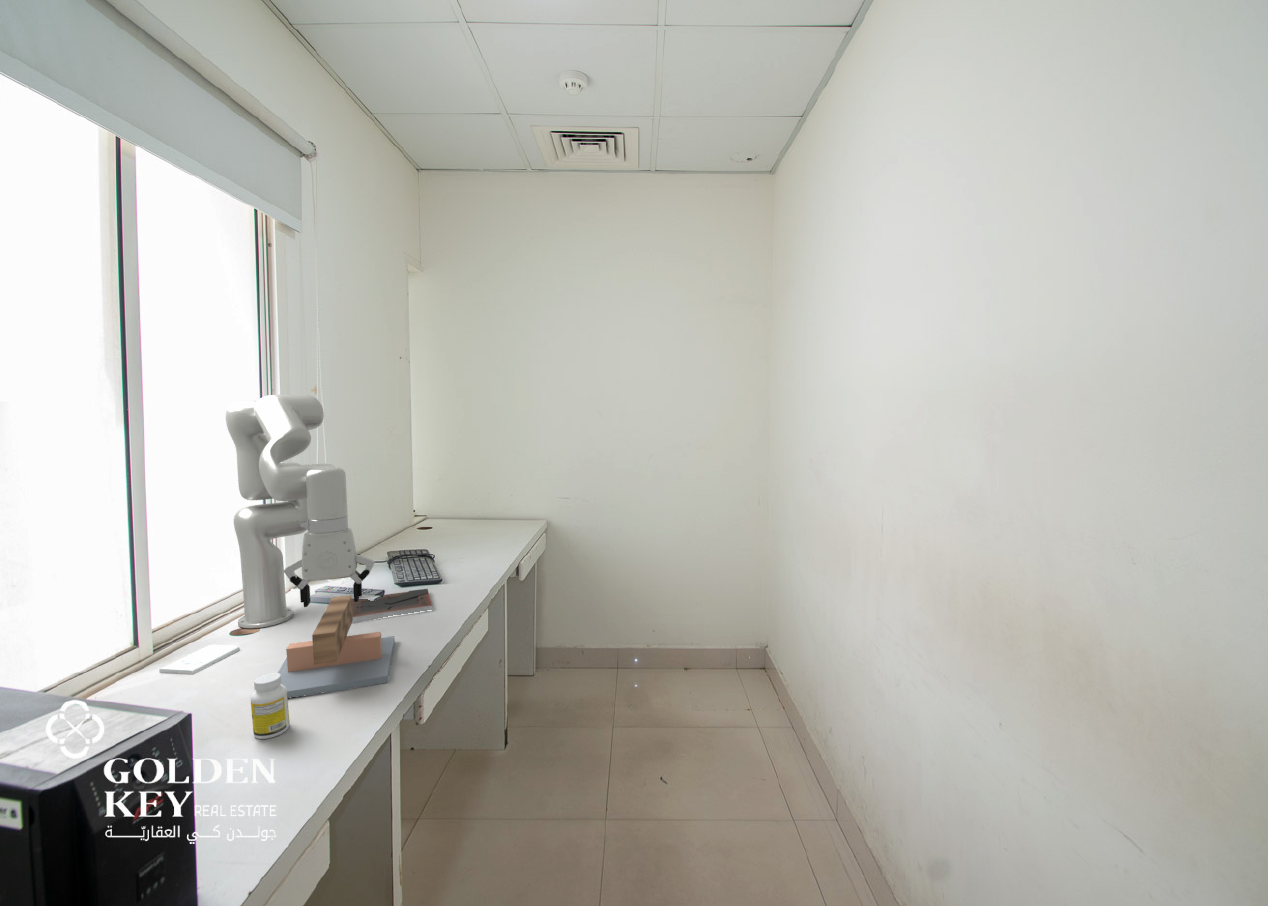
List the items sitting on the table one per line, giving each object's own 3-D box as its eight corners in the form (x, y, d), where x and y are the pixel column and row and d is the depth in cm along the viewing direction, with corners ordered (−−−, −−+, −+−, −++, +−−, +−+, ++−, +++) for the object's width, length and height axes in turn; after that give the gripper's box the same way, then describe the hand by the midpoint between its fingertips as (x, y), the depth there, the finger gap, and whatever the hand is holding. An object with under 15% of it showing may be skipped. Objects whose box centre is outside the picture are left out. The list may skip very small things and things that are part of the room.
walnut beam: (334, 622, 134) (332, 597, 133) (352, 619, 135) (351, 595, 135) (313, 664, 111) (312, 635, 111) (336, 661, 113) (334, 632, 112)
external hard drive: (239, 652, 134) (192, 677, 122) (209, 651, 136) (159, 675, 123) (239, 646, 134) (192, 670, 122) (208, 644, 135) (158, 668, 123)
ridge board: (291, 656, 130) (289, 629, 130) (394, 642, 138) (393, 616, 137) (264, 702, 110) (262, 670, 109) (387, 682, 117) (386, 652, 116)
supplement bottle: (264, 723, 102) (260, 671, 101) (295, 722, 103) (292, 669, 102) (246, 741, 97) (242, 686, 96) (279, 739, 97) (275, 684, 96)
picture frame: (427, 596, 174) (349, 607, 165) (427, 588, 174) (349, 598, 165) (432, 613, 159) (346, 626, 150) (432, 604, 159) (346, 617, 150)
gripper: (277, 532, 115) (282, 613, 116) (370, 525, 121) (374, 603, 122) (286, 524, 122) (290, 601, 123) (374, 519, 128) (377, 592, 129)
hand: (332, 602), depth 123 cm, fingers open, 9 cm apart
